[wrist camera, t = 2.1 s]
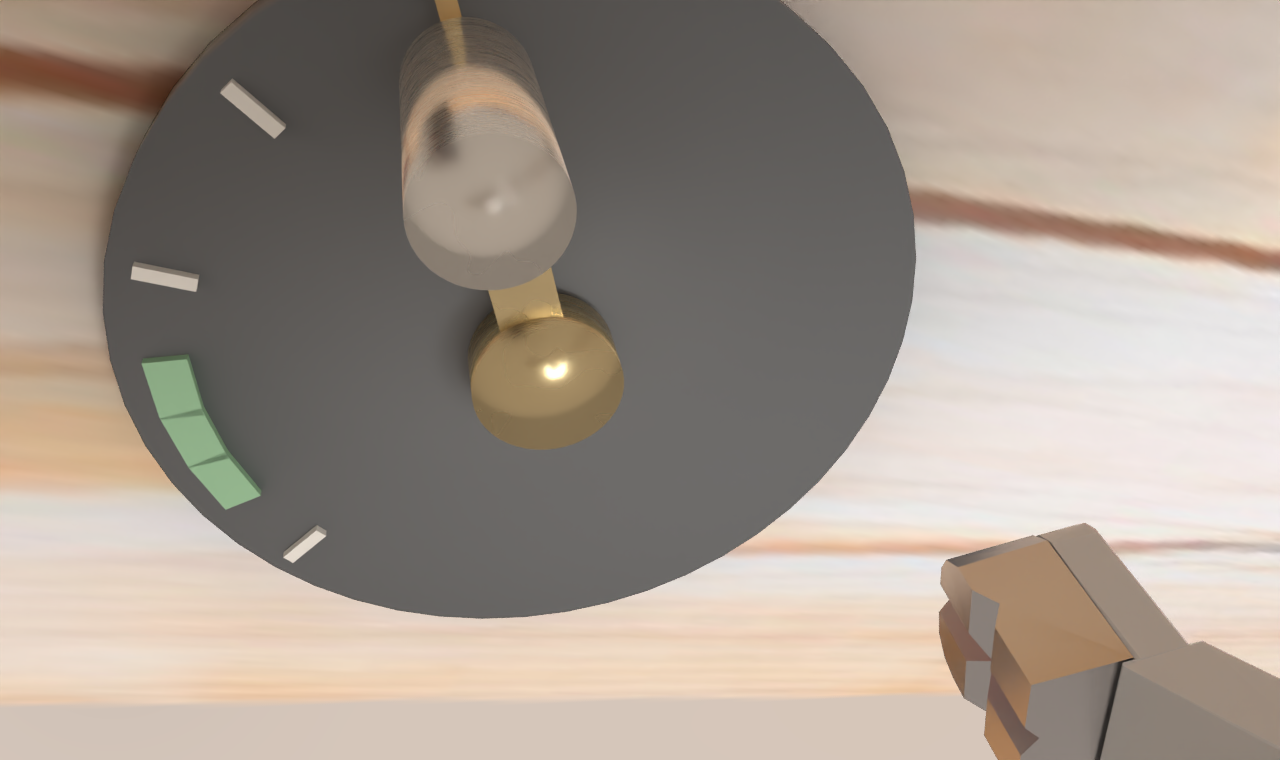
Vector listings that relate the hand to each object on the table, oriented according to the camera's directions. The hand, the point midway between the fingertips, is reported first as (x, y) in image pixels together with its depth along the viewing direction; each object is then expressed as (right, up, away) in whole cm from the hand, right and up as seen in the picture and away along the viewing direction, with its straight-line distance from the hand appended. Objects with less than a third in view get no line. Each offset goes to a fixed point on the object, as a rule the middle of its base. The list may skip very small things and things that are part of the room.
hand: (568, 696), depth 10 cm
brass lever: (-3, +8, +17) cm, 19 cm away
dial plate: (-3, +5, +22) cm, 22 cm away
